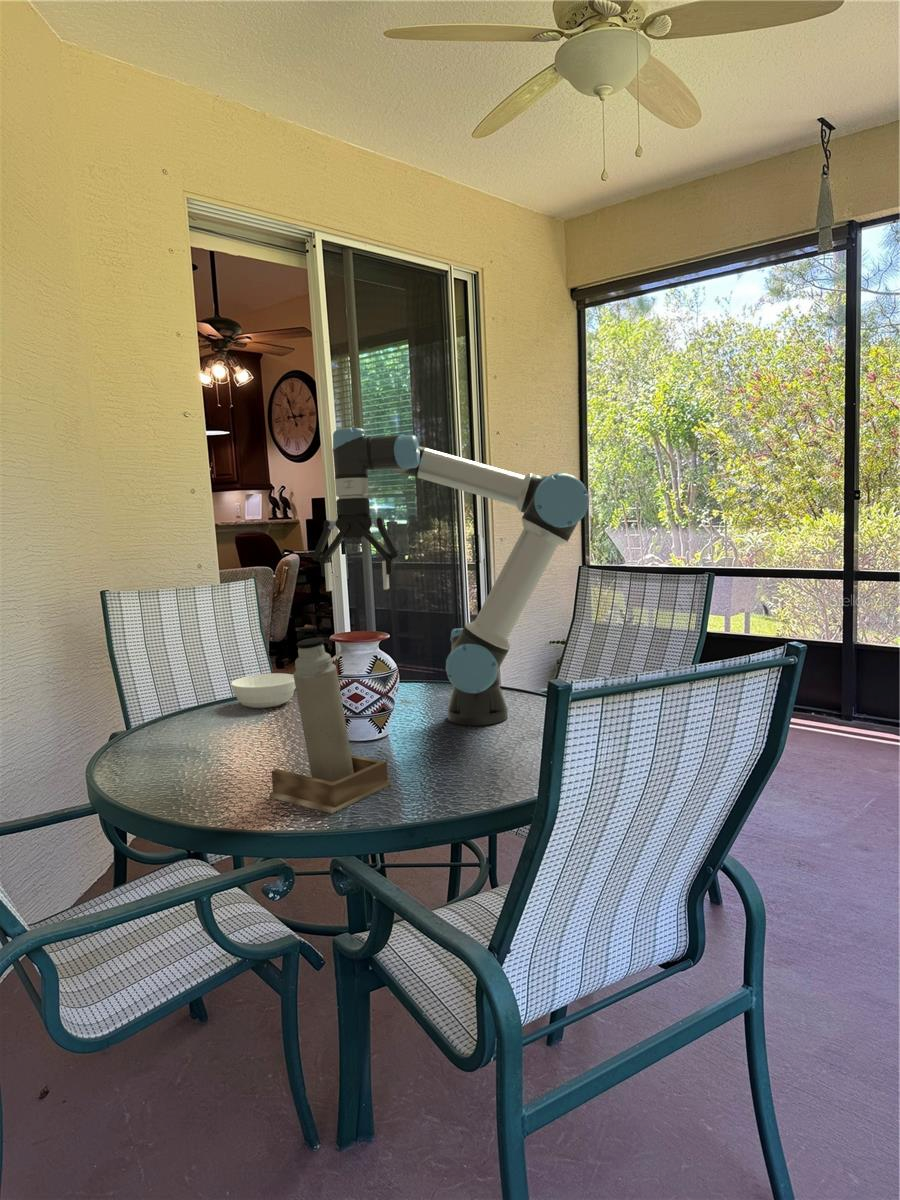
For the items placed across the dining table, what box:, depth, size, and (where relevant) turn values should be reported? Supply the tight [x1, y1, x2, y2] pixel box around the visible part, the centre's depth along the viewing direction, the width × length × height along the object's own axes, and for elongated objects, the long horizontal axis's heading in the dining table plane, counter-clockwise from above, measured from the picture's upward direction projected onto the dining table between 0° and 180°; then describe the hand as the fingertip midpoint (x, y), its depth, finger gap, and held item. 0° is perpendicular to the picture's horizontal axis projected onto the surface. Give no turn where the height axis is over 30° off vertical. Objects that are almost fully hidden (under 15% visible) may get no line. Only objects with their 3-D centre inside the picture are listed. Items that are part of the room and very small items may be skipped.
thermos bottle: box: [292, 637, 354, 782], centre depth 141 cm, size 8×8×28 cm
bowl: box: [230, 672, 296, 709], centre depth 212 cm, size 18×18×7 cm
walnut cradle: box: [269, 754, 391, 815], centre depth 141 cm, size 16×16×5 cm
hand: (357, 590), depth 173 cm, fingers open, 13 cm apart
